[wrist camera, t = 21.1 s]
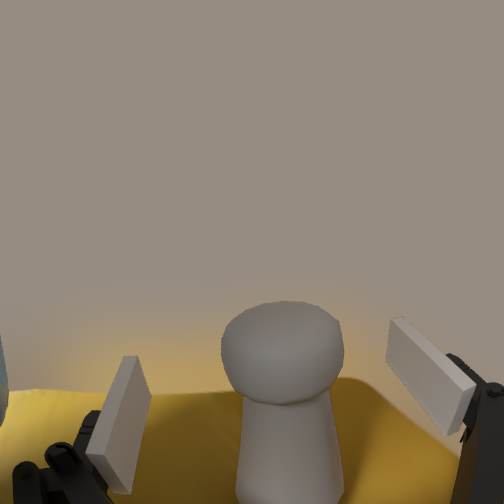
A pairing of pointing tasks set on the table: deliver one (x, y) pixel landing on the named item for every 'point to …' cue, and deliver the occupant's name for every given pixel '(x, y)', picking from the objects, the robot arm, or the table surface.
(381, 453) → the table surface
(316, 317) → the salt shaker
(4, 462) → the table surface
